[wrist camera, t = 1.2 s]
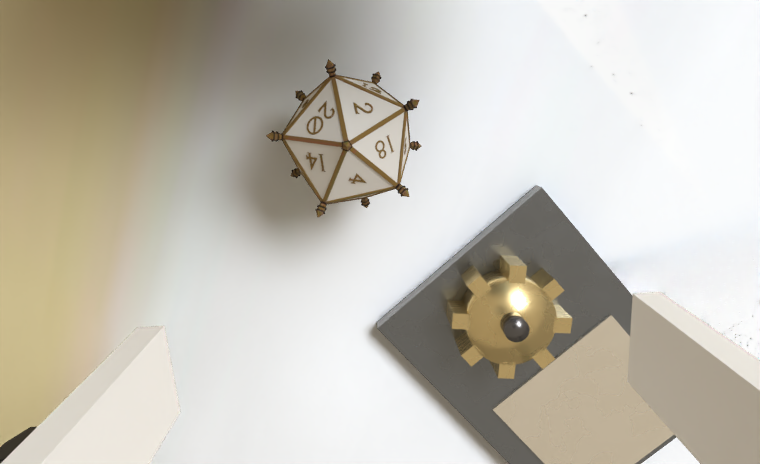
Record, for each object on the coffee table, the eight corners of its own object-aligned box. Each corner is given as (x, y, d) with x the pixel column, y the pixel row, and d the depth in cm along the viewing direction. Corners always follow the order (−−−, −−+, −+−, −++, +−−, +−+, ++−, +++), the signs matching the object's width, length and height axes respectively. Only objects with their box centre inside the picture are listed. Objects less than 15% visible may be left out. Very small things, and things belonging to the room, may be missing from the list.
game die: (329, 223, 37) (315, 262, 27) (262, 117, 35) (221, 118, 25) (439, 157, 36) (466, 174, 26) (376, 45, 34) (380, 17, 24)
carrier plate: (377, 321, 38) (378, 351, 34) (536, 185, 36) (561, 195, 32) (559, 509, 42) (583, 559, 37) (711, 394, 40) (758, 432, 36)
